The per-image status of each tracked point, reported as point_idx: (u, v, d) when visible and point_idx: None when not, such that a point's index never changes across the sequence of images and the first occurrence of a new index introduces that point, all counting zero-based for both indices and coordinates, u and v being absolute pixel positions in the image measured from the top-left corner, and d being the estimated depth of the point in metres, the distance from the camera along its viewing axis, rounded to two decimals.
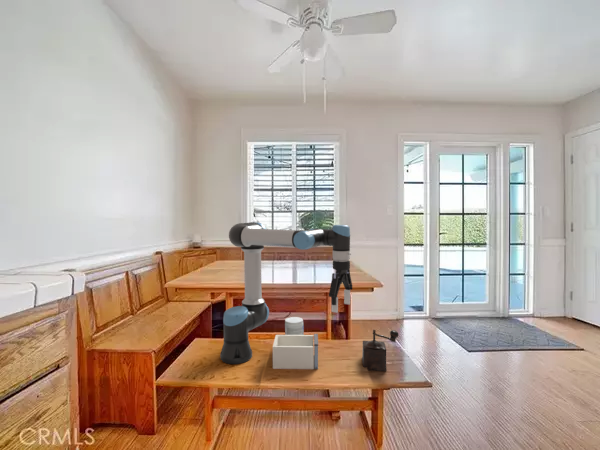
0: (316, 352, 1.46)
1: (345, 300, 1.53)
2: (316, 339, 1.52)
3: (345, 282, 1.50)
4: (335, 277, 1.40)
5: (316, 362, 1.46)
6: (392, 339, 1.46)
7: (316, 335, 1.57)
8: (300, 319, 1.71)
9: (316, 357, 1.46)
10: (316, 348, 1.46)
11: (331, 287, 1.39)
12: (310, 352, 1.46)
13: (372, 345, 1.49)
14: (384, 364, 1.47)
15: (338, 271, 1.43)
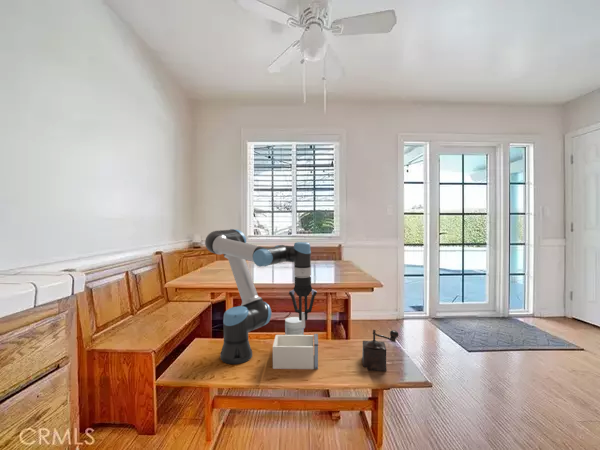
0: (316, 352, 1.46)
1: None
2: (316, 339, 1.52)
3: None
4: None
5: (316, 362, 1.46)
6: (392, 339, 1.46)
7: (316, 335, 1.57)
8: None
9: (316, 357, 1.46)
10: (316, 348, 1.46)
11: None
12: (310, 352, 1.46)
13: (372, 345, 1.49)
14: (384, 364, 1.47)
15: None
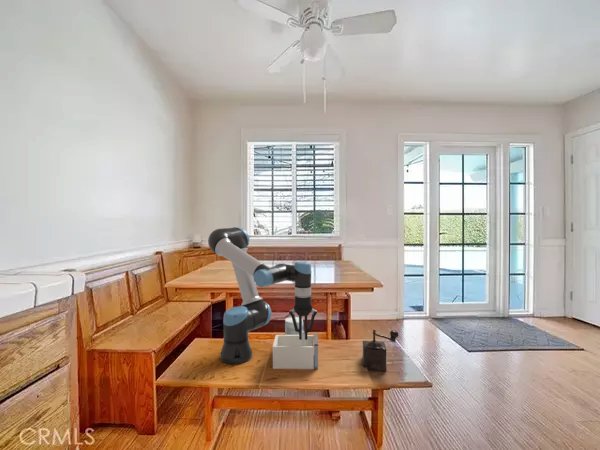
0: (316, 352, 1.46)
1: None
2: (316, 339, 1.52)
3: None
4: None
5: (316, 362, 1.46)
6: (392, 339, 1.46)
7: (316, 335, 1.57)
8: None
9: (316, 357, 1.46)
10: (316, 348, 1.46)
11: None
12: (310, 352, 1.46)
13: (372, 345, 1.49)
14: (384, 364, 1.47)
15: None
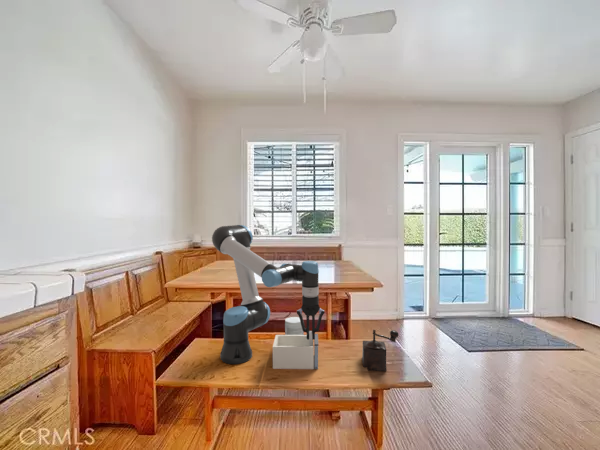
0: (316, 352, 1.46)
1: None
2: (316, 339, 1.52)
3: (312, 320, 1.52)
4: None
5: (316, 362, 1.46)
6: (392, 339, 1.46)
7: (316, 335, 1.57)
8: None
9: (316, 357, 1.46)
10: (316, 348, 1.46)
11: None
12: (310, 352, 1.46)
13: (372, 345, 1.49)
14: (384, 364, 1.47)
15: None
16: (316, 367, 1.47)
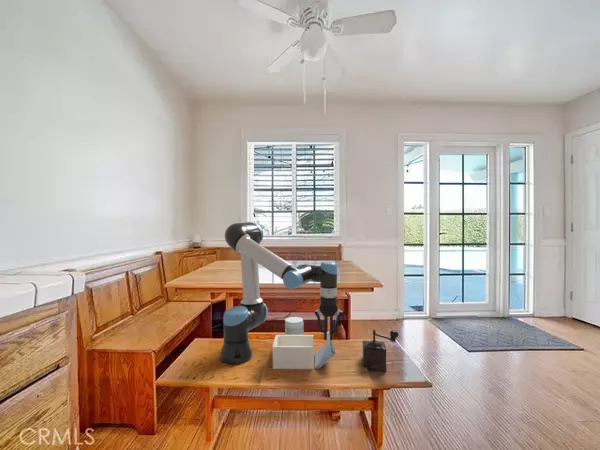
0: (328, 358, 1.46)
1: None
2: (333, 347, 1.52)
3: None
4: None
5: (321, 364, 1.46)
6: (392, 339, 1.46)
7: (333, 343, 1.57)
8: (300, 319, 1.71)
9: (325, 361, 1.46)
10: (331, 355, 1.46)
11: None
12: (310, 352, 1.46)
13: (372, 345, 1.49)
14: (384, 364, 1.47)
15: None
16: (317, 368, 1.47)
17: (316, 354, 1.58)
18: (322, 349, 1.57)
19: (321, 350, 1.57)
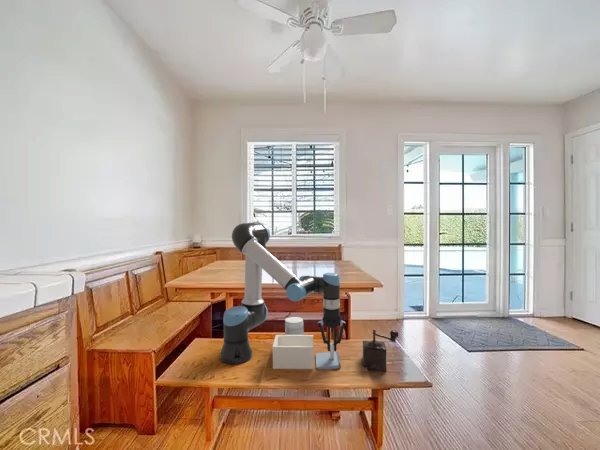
0: (333, 367, 1.46)
1: None
2: (339, 360, 1.52)
3: (333, 332, 1.52)
4: None
5: (323, 368, 1.46)
6: (392, 339, 1.46)
7: None
8: (300, 319, 1.71)
9: (328, 368, 1.46)
10: (337, 367, 1.46)
11: None
12: (310, 352, 1.46)
13: (372, 345, 1.49)
14: (384, 364, 1.47)
15: None
16: None
17: (317, 355, 1.58)
18: (326, 354, 1.58)
19: (324, 355, 1.57)
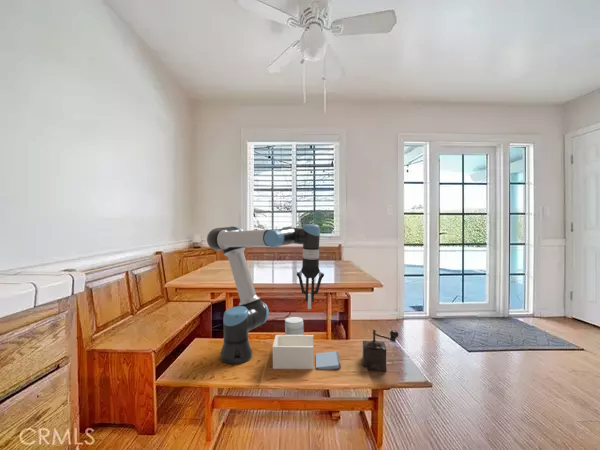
0: (333, 367, 1.46)
1: None
2: (339, 360, 1.52)
3: None
4: None
5: (323, 368, 1.46)
6: (392, 339, 1.46)
7: None
8: (300, 319, 1.71)
9: (328, 368, 1.46)
10: (337, 367, 1.46)
11: None
12: (310, 352, 1.46)
13: (372, 345, 1.49)
14: (384, 364, 1.47)
15: None
16: None
17: (317, 355, 1.58)
18: (326, 354, 1.58)
19: (324, 355, 1.57)
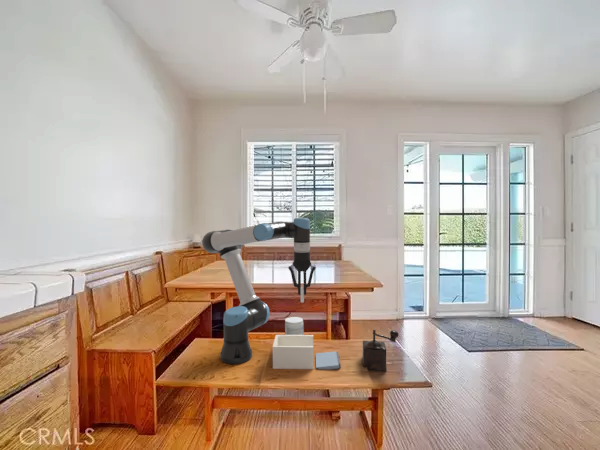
0: (333, 367, 1.46)
1: None
2: (339, 360, 1.52)
3: None
4: None
5: (323, 368, 1.46)
6: (392, 339, 1.46)
7: None
8: (300, 319, 1.71)
9: (328, 368, 1.46)
10: (337, 367, 1.46)
11: None
12: (310, 352, 1.46)
13: (372, 345, 1.49)
14: (384, 364, 1.47)
15: None
16: None
17: (317, 355, 1.58)
18: (326, 354, 1.58)
19: (324, 355, 1.57)
